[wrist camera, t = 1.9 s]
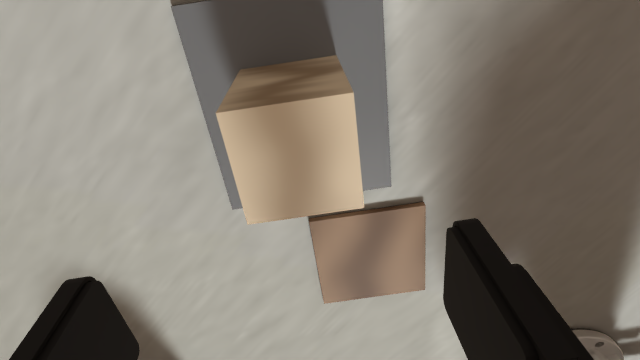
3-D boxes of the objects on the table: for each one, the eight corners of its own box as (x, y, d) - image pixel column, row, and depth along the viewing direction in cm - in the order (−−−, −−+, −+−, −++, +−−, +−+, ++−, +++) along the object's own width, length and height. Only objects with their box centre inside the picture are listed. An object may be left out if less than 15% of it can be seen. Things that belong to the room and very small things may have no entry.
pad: (423, 201, 29) (425, 205, 29) (423, 285, 33) (425, 289, 33) (308, 218, 29) (309, 222, 29) (323, 299, 34) (324, 303, 33)
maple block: (336, 55, 23) (353, 92, 16) (346, 143, 26) (364, 208, 19) (240, 69, 23) (215, 113, 16) (260, 156, 26) (247, 224, 19)
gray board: (380, -27, 21) (381, -27, 21) (390, 184, 28) (391, 186, 28) (172, 5, 21) (170, 6, 21) (233, 207, 28) (232, 209, 28)
